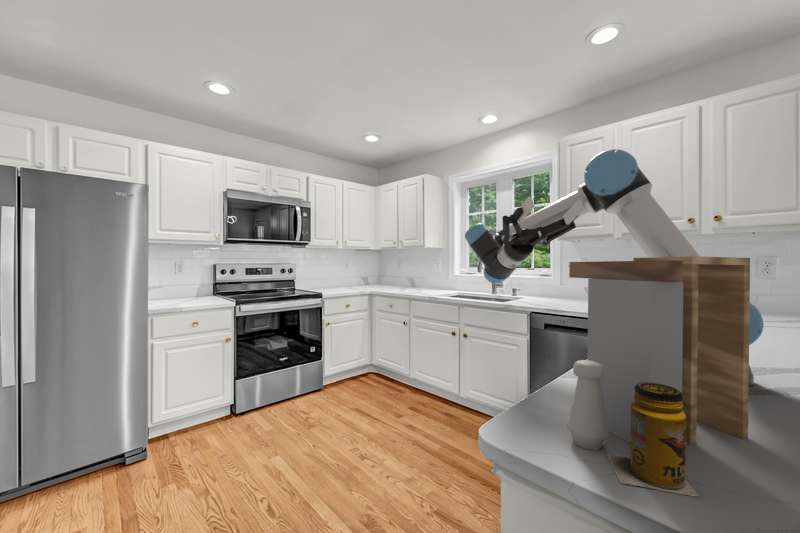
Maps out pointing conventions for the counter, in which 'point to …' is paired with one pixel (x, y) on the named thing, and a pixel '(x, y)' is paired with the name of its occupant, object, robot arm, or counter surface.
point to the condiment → (656, 441)
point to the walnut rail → (628, 270)
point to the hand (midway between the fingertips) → (557, 202)
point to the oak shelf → (715, 342)
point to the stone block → (634, 341)
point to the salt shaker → (588, 407)
